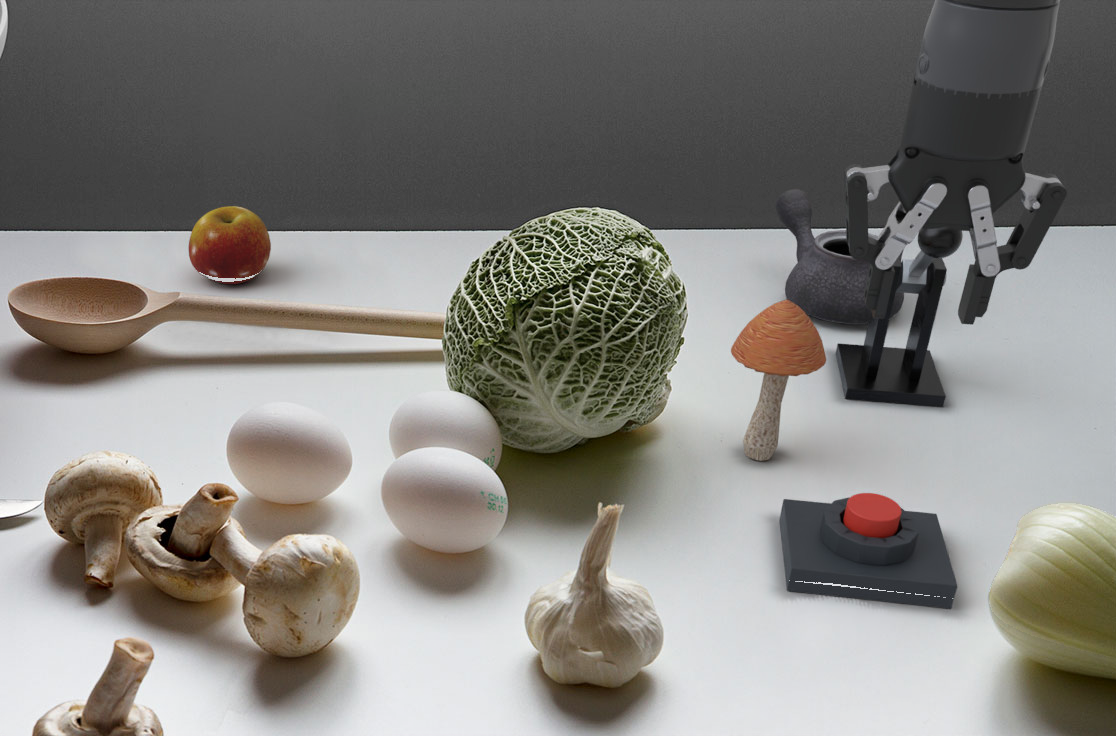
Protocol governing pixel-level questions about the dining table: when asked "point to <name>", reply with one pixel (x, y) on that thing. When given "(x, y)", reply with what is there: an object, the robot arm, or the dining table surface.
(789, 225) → the teapot
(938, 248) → the lever
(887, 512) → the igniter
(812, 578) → the block
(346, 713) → the dining table surface
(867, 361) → the bracket
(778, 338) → the mushroom
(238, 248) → the fruit
